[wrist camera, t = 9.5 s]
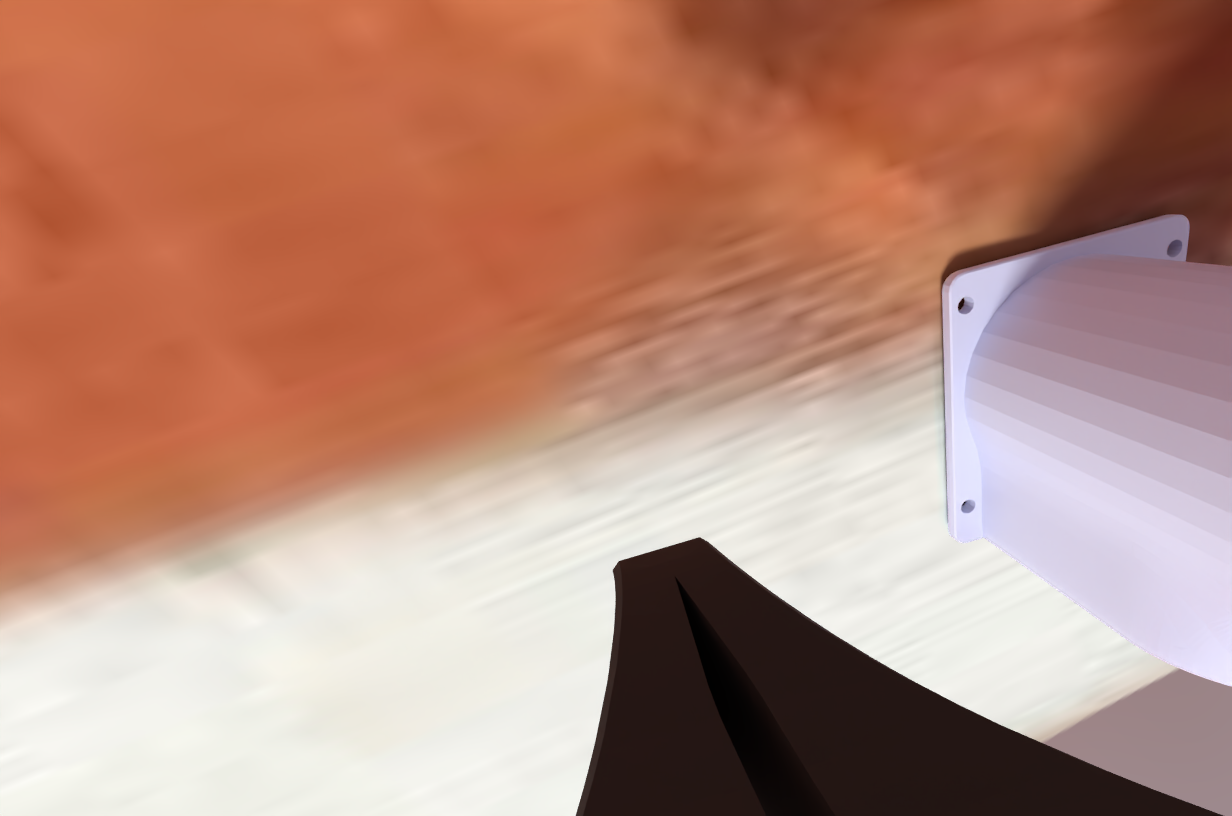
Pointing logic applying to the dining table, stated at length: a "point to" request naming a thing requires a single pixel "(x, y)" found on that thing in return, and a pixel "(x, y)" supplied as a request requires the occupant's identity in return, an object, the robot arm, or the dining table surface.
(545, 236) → the dining table surface
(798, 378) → the dining table surface
